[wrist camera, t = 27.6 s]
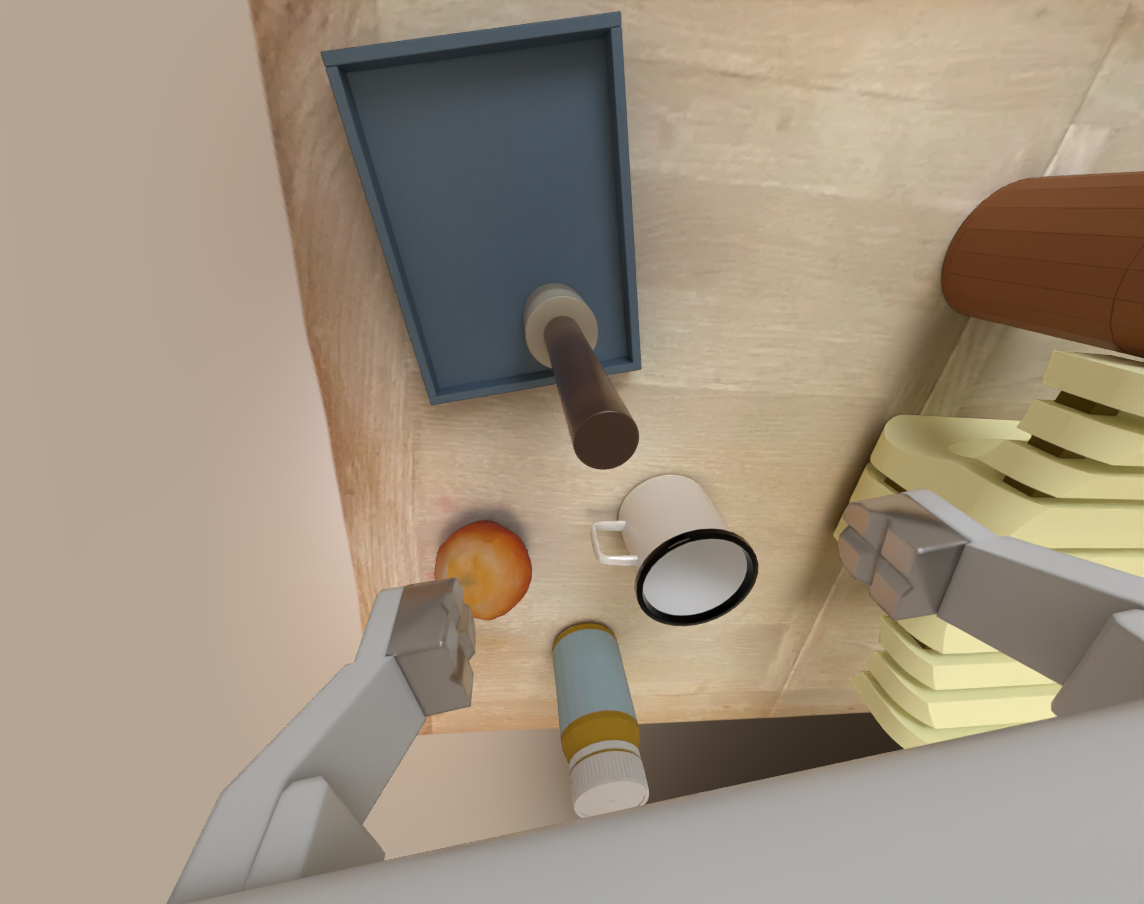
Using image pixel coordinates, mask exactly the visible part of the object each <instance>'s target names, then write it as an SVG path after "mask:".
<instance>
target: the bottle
mask: <svg viewBox="0 0 1144 904" xmlns="http://www.w3.org/2000/svg"><path fill="white" fill-rule="evenodd" d="M552 651H553V664H554V674H555V684H556V694H557V704H558V714H559V724H560V733H561V742H562V749H563V752H564V754H565V756H566V759H567V761H568V763H569V771H570V776H571V777H570V783H571V792H572V800H573V807H574V810H575V812H576V814H577V815H579V816H580V817H582V818H586V817H590V816H595V815H600V814H604V813H609V812H614V811H618V810H623V809H628V808H632V807H637V806H642V805H644V804H645V803H646V802H647V800H648V797H649V789H648V784H647V780H646V776H645V772H644V768H643V764H642V762H641V758H640V754H639V735H640V734H639V733H640V732H639V728H638V723H637V719H636V715H635V711H634V707H633V703H632V699H631V695H630V691H629V687H628V683H627V679H626V675H625V671H624V667H623V663H622V659H621V655H620V651H619V647H618V643H617V640H616V637H615V635H614V633H613V632H612V631H610V630H609V629H608V628H606V627H604V626H602V625H599V624H596V623H580V624H576V625H574V626H571V627H569V628H567V629H566V630H565V631H563V632H562V633H561V634H560V635H559V637H558V638H557V639H556V640H555V642H554V645H553V648H552Z"/></svg>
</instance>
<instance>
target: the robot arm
mask: <svg viewBox="0 0 1144 904" xmlns="http://www.w3.org/2000/svg"><path fill="white" fill-rule="evenodd" d="M843 519H844V520H845V521H846V523H847V524H848V526H847V527H846V528H845V529H844V531H843V532H842V533H841V534H840V535H839V541H838V551H839V555H840V559H841V561H842V563H843V565H844V567H845V568H846V570H847V571H848V572H849V573H850V574H851V576H852V577H853V578H854V579H856V580H858V581H861V582H863V583H865V584H867V585H869V595H870V596H871V597H872V598H873V600H874V601H875V602H876V603H877V604H878V605H879V606H880V607H881V608H882V609H883V610H884V611H885V612H886V614H887V615H888V616H889V617H890V618H891V619H892V620H893V621H898V620H904V619H910V618H916V617H922V616H927V615H933V614H937V615H936V616H937V617H938V618H940V619H942V620H944V621H946V622H947V623H949V624H951V625H953V626H955V627H956V628H958V629H960V630H962V631H964V632H966V633H967V634H969V635H971V636H973V637H975V638H976V639H978V640H980V641H982V642H984V643H985V644H987V645H989V646H991V647H993V648H995V649H996V650H998V651H1000V652H1002V653H1004V654H1005V655H1007V656H1009V657H1011V658H1013V659H1014V660H1016V661H1018V662H1020V663H1022V664H1024V665H1025V666H1027V667H1029V668H1031V669H1033V670H1034V671H1036V672H1038V673H1040V674H1042V675H1043V676H1045V677H1047V678H1049V679H1051V680H1053V681H1054V682H1056V683H1058V684H1060V685H1062V688H1061V689H1060V690H1059V692H1058V693H1057V695H1056V696H1055V698H1054V699H1053V701H1052V702H1051V711H1052V712H1053V713H1054V714H1055V715H1056V716H1057V717H1053V718H1048V719H1043V720H1039V721H1034V722H1029V723H1025V724H1020V725H1015V726H1011V727H1006V728H1001V729H997V730H992V731H987V732H983V733H978V734H973V735H968V736H964V737H959V738H954V739H950V740H945V741H940V742H936V743H931V744H926V745H922V746H917V747H912V748H908V749H903V750H899V751H894V752H889V753H884V754H880V755H875V756H870V757H866V758H861V759H856V760H852V761H847V762H843V763H838V764H833V765H829V766H824V767H819V768H814V769H809V770H805V771H800V772H796V773H791V774H786V775H781V776H777V777H772V778H768V779H763V780H758V781H754V782H749V783H744V784H740V785H735V786H730V787H725V788H721V789H716V790H712V791H707V792H702V793H697V794H693V795H688V796H683V797H679V798H674V799H669V800H665V801H660V802H656V803H651V804H646V805H642V806H637V807H632V808H628V809H623V810H618V811H614V812H609V813H604V814H600V815H595V816H590V817H586V818H581V819H576V820H572V821H568V822H562V823H558V824H553V825H548V826H544V827H539V828H534V829H530V830H525V831H521V832H516V833H511V834H506V835H502V836H498V837H493V838H488V839H483V840H479V841H475V842H469V843H465V844H460V845H455V846H451V847H446V848H442V849H437V850H432V851H427V852H423V853H418V854H413V855H409V856H404V857H399V858H395V859H390V860H385V861H384V857H385V853H384V851H383V850H382V848H381V847H380V845H379V844H378V843H377V842H376V840H375V839H374V838H373V837H372V836H371V834H370V833H369V832H368V831H367V830H366V828H365V827H364V826H363V825H362V824H363V822H364V821H365V819H366V818H367V816H368V814H369V812H370V811H371V809H372V808H373V806H374V804H375V803H376V801H377V800H378V798H379V796H380V795H381V793H382V791H383V790H384V788H385V786H386V785H387V783H388V782H389V780H390V778H391V777H392V775H393V773H394V772H395V770H396V768H397V767H398V765H399V763H400V762H401V760H402V759H403V757H404V755H405V754H406V752H407V750H408V749H409V747H410V746H411V744H412V742H413V741H414V739H415V737H416V736H417V734H418V732H419V731H420V729H421V727H422V726H423V724H424V723H425V721H426V717H427V716H431V715H435V714H440V713H444V712H448V711H453V710H457V709H461V708H466V707H470V706H471V698H472V686H473V671H472V668H471V666H470V663H469V660H470V659H471V658H472V656H473V655H474V653H475V643H476V638H475V624H474V620H473V615H472V612H471V609H470V606H469V605H468V604H466V603H464V602H463V595H464V589H463V587H462V584H461V582H460V579H459V578H457V577H454V578H447V579H441V580H435V581H429V582H423V583H417V584H411V585H407V586H403V587H396V588H390V589H383V590H381V591H380V592H379V594H378V595H377V596H376V599H375V602H374V605H373V608H372V610H371V613H370V616H369V619H368V622H367V625H366V628H365V631H364V634H363V637H362V640H361V643H360V646H359V649H358V652H357V655H356V658H355V661H354V663H351V664H347V665H345V666H344V667H343V668H342V669H341V670H340V671H339V672H338V673H337V674H336V675H335V676H334V677H333V678H332V679H331V680H330V681H329V682H328V683H327V685H325V686H324V688H322V690H321V691H320V692H319V693H318V694H317V695H316V696H315V697H314V698H313V699H312V700H311V701H310V702H309V703H308V704H307V705H306V706H305V707H304V708H303V709H302V710H301V711H300V712H299V713H298V714H297V715H296V716H295V718H293V719H292V720H291V721H290V722H289V723H288V724H287V726H286V727H285V728H284V729H283V730H282V731H281V732H280V733H279V734H278V735H277V736H276V737H275V738H274V739H273V740H272V741H271V742H270V743H269V744H268V745H267V746H266V747H265V748H264V749H263V750H262V751H261V752H260V753H259V754H258V755H257V756H256V757H255V758H254V759H253V760H252V761H251V762H250V764H249V765H248V766H247V767H246V768H245V769H244V770H243V771H242V772H241V773H240V774H239V775H238V776H237V777H236V778H235V779H234V780H233V781H232V782H231V783H230V784H229V785H228V786H227V787H226V788H225V789H224V790H223V791H222V792H221V793H220V795H219V797H218V800H217V802H216V804H215V806H214V808H213V810H212V812H211V814H210V816H209V818H208V820H207V822H206V824H205V826H204V828H203V830H202V832H201V834H200V836H199V838H198V841H197V842H196V845H195V847H194V849H193V851H192V853H191V855H190V857H189V859H188V861H187V863H186V865H185V867H184V869H183V871H182V873H181V875H180V877H179V879H178V882H177V884H176V885H175V887H174V890H173V892H172V894H171V896H170V898H169V900H168V902H167V904H1144V578H1143V577H1139V576H1136V575H1133V574H1130V573H1126V572H1123V571H1120V570H1117V569H1113V568H1110V567H1107V566H1104V565H1100V564H1097V563H1094V562H1091V561H1087V560H1084V559H1081V558H1078V557H1075V556H1071V555H1068V554H1065V553H1062V552H1058V551H1055V550H1052V549H1049V548H1045V547H1042V546H1039V545H1036V544H1032V543H1029V542H1026V541H1023V540H1020V539H1016V538H1013V537H1010V536H1003V537H999V536H997V535H996V534H994V533H993V532H991V531H990V530H988V529H987V528H986V527H984V526H983V525H981V524H980V523H978V522H977V521H975V520H974V519H972V518H971V517H969V516H968V515H966V514H965V513H963V512H962V511H960V510H959V509H957V508H956V507H954V506H953V505H952V504H950V503H949V502H947V501H946V500H944V499H943V498H941V497H940V496H938V495H937V494H935V493H934V492H932V491H930V490H926V489H923V488H921V489H916V490H911V491H906V492H901V493H897V494H892V495H887V496H882V497H877V498H872V499H867V500H862V501H857V502H852V503H850V504H849V505H848V506H847V507H846V509H845V513H844V517H843Z"/></svg>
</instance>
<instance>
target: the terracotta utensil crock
mask: <svg viewBox="0 0 1144 904" xmlns="http://www.w3.org/2000/svg"><path fill="white" fill-rule="evenodd" d="M942 287H943V292H944V295H945V298H946V300H947V301H948V303H949V304H950V306H951V307H952V308H953V309H955V310H956V311H957V312H959V313H962V314H964V315H967V316H971V317H975V318H979V319H983V320H987V321H991V322H996V323H1000V324H1004V325H1008V326H1012V327H1016V328H1021V329H1025V330H1029V331H1033V332H1037V333H1041V334H1046V335H1050V336H1054V337H1058V338H1062V339H1066V340H1070V341H1075V342H1079V343H1083V344H1087V345H1091V346H1095V347H1100V348H1104V349H1108V350H1112V351H1116V352H1120V353H1125V354H1129V355H1133V356H1137V357H1141V358H1144V171H1142V172H1123V173H1104V174H1086V175H1067V176H1048V177H1040V178H1028V179H1024V180H1019V181H1017V182H1014V183H1011V184H1009V185H1007V186H1005V187H1003V188H1001V189H1000V190H998V191H997V192H995V193H993V194H992V195H991V196H989V197H988V198H987V199H986V200H984V201H983V202H982V203H981V204H980V205H979V206H978V207H977V208H976V209H975V210H974V211H973V212H972V213H971V214H970V215H969V216H968V218H967V219H966V220H965V222H964V223H963V224H962V226H961V227H960V229H959V230H958V232H957V233H956V235H955V237H954V239H953V241H952V243H951V245H950V247H949V250H948V252H947V255H946V258H945V261H944V266H943V272H942Z"/></svg>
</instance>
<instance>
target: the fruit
mask: <svg viewBox="0 0 1144 904" xmlns="http://www.w3.org/2000/svg"><path fill="white" fill-rule="evenodd" d="M434 574H435V580H441V579H447V578H454V577H457V578H459V579H460V582H461V584H462V587H463V589H464V595H463V602H464V603H466V604H468V605H469V606H470V609H471V612H472V615H473V618H478V619H483V620H492V619H495V618H497V617H499V616H502V615H504V614H506V613H507V612H509V611H510V610H511V609H512V608H513V607H514V606H515V605H516V604H517V603H518V602H519V601H520V600H521V599H522V598H523V597H524V595H525V594H526V592H527V590H528V588H529V585H530V582H531V578H532V566H531V560H530V558H529V555H528V549H526V547H525V545H524V543H523V541H522V540H521V539H520V537H519V536H518V535H516V534H515V533H514V532H512V531H510V530H509V529H507V528H505V527H503V526H501V525H499V524H497V523H495V522H493V521H488V520H484V521H476V522H474V523H471V524H469V525H467V526H464V527H463V528H461V529H459V530H458V531H456V532H455V533H454V534H452V535H451V536H450V537H449V538H448V540H447V541H446V542H445V543H444V544H443V545H442V546H441V547H440V548H439V550H438V553H437V557H436V565H435V573H434Z"/></svg>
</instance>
